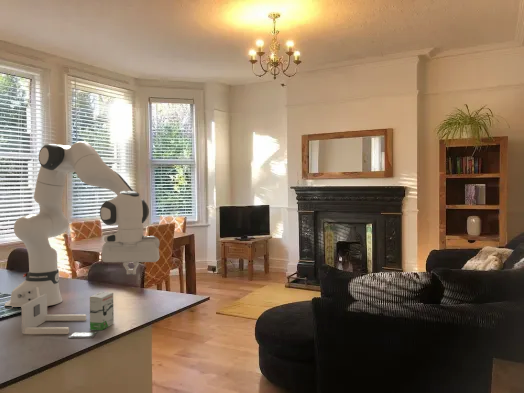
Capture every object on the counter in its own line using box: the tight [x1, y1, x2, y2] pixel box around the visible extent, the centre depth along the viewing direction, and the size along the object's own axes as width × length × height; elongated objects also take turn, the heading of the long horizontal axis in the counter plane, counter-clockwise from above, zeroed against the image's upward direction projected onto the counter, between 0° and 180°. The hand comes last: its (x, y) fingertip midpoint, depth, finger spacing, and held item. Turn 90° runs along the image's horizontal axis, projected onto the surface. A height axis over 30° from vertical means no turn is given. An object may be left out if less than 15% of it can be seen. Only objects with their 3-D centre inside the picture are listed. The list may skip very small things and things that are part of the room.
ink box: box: [89, 291, 115, 331], centre depth 166 cm, size 9×5×12 cm, turn 168°
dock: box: [20, 294, 87, 335], centre depth 167 cm, size 16×16×10 cm
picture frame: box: [68, 332, 98, 339], centre depth 157 cm, size 8×4×1 cm, turn 90°
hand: (131, 274), depth 166 cm, fingers closed
